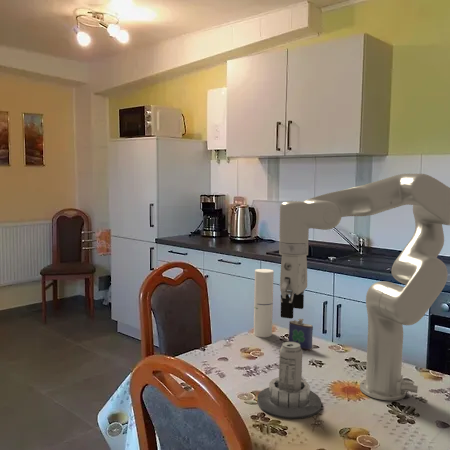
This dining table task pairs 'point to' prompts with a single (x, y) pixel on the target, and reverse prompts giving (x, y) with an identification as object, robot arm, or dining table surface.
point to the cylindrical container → (263, 302)
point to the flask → (301, 334)
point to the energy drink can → (290, 366)
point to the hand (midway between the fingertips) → (292, 312)
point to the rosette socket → (289, 401)
